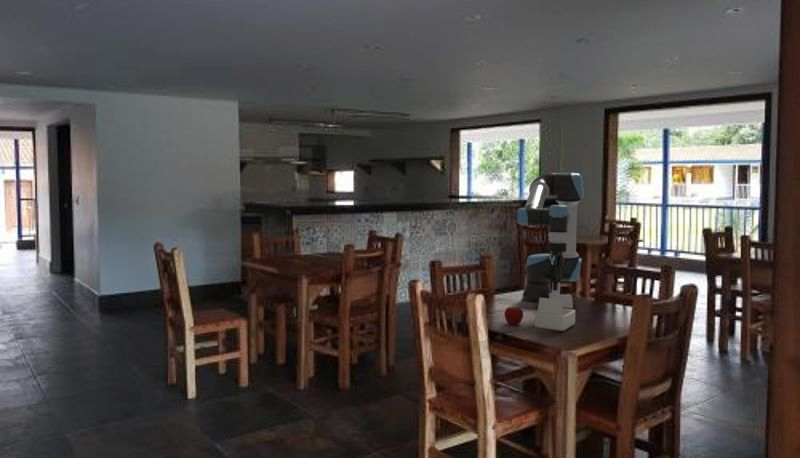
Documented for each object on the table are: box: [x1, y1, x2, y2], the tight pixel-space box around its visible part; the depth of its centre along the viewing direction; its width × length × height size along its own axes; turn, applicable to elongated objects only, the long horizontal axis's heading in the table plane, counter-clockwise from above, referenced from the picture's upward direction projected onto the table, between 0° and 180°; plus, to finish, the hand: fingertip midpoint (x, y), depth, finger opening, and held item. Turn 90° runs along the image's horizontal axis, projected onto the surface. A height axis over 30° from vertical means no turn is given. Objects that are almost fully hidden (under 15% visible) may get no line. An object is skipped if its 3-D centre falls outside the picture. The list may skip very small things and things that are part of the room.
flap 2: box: [549, 293, 574, 309], centre depth 272 cm, size 6×10×1 cm
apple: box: [504, 306, 524, 326], centre depth 268 cm, size 8×8×8 cm
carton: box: [534, 307, 576, 332], centre depth 267 cm, size 15×13×6 cm
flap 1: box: [537, 298, 564, 315], centre depth 261 cm, size 6×10×1 cm
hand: (555, 297), depth 266 cm, fingers closed
